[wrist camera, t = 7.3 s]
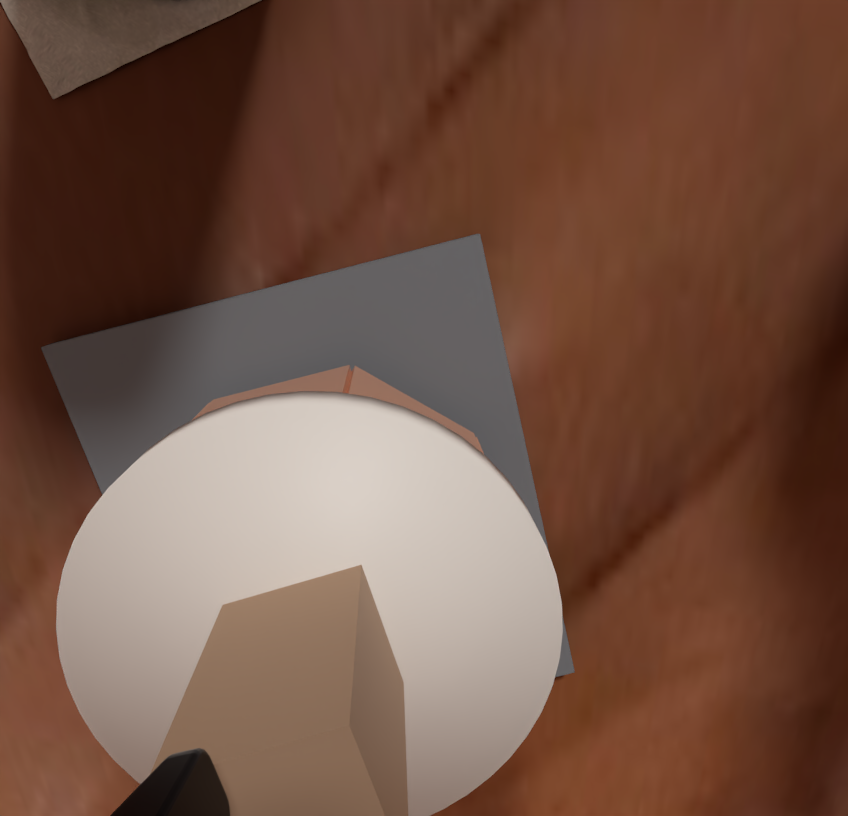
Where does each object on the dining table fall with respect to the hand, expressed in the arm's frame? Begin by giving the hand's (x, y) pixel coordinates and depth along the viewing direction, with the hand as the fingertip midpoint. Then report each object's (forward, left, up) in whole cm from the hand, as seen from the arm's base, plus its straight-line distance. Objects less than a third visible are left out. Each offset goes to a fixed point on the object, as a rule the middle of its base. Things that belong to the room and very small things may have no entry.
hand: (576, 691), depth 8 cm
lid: (+4, +2, -7) cm, 8 cm away
